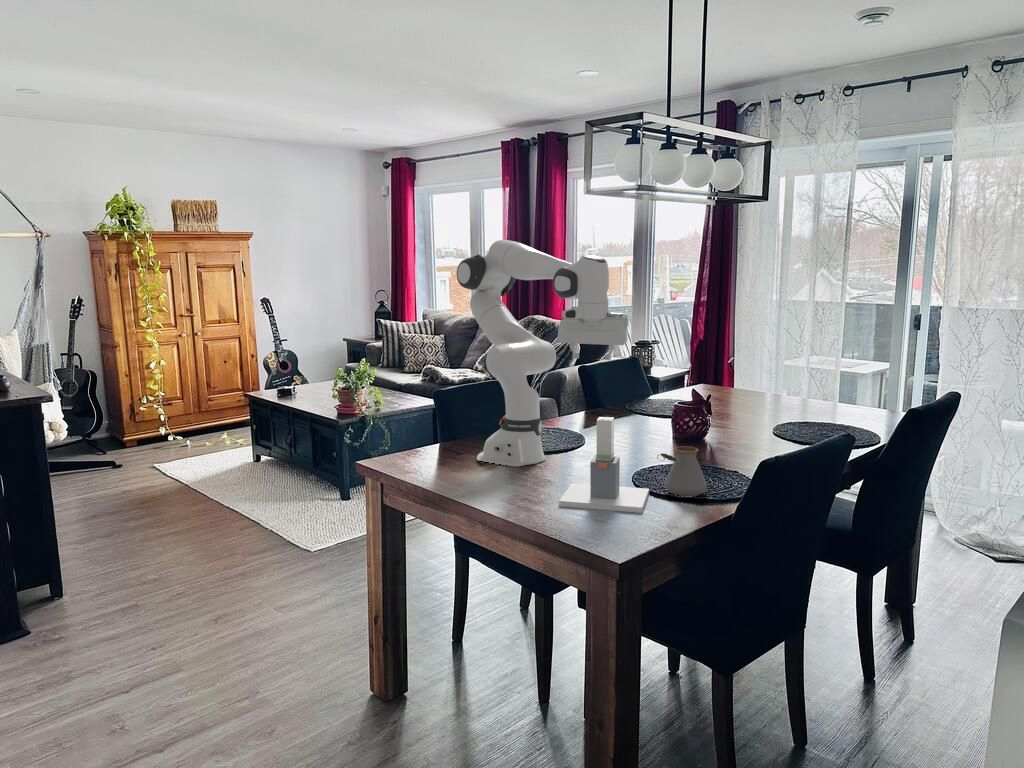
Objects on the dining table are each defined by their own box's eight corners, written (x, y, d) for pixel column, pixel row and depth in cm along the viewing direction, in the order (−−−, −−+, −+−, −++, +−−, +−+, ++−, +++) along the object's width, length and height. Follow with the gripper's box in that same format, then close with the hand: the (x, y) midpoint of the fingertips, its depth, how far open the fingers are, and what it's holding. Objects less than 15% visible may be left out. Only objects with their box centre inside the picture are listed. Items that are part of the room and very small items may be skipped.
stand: (559, 506, 196) (558, 464, 194) (571, 488, 211) (571, 449, 209) (641, 513, 190) (642, 470, 188) (648, 493, 205) (649, 454, 203)
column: (596, 477, 198) (596, 420, 195) (599, 473, 202) (599, 416, 199) (611, 478, 197) (611, 420, 194) (613, 474, 201) (614, 417, 198)
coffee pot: (675, 484, 213) (676, 434, 210) (713, 492, 206) (714, 440, 203) (640, 505, 196) (640, 450, 193) (679, 513, 189) (681, 457, 186)
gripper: (630, 312, 213) (628, 359, 216) (561, 310, 219) (561, 355, 222) (626, 314, 207) (625, 362, 210) (556, 312, 213) (556, 359, 216)
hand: (591, 359), depth 216 cm, fingers open, 8 cm apart
